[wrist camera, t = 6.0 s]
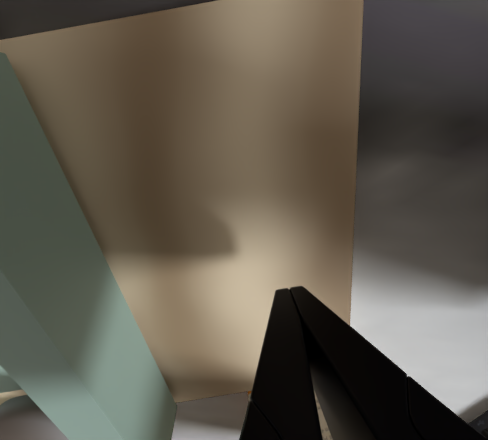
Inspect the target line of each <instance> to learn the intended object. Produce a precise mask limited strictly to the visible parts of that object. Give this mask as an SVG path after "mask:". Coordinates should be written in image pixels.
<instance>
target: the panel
mask: <svg viewBox="0 0 488 440" xmlns="http://www.w3.org/2000/svg"><path fill="white" fill-rule="evenodd" d="M22 389H23V390H24V392H25V393H26V394H27V395H28V396H29V397H30V398H31V399H32V400H33V401H34V402H35V403H36V405H37V406H38V407H39V408H40V409H41V410H42V411H43V412H44V413H45V414H46V415H47V417H48V418H49V419H50V420H51V421H52V422H53V423H54V424H55V425H56V426H57V427H58V428H59V430H60V431H61V432H62V433H63V434H64V435H65V436H66V437H67V438H68V439H69V440H171V438H172V432H173V427H174V421H175V415H176V410H177V405H176V403H175V401H174V399H173V397H172V395H171V393H170V391H169V389H168V387H167V385H166V382H165V380H164V378H163V376H162V374H161V372H160V370H159V368H158V366H157V364H156V362H155V360H154V358H153V356H152V354H151V352H150V350H149V348H148V345H147V343H146V341H145V339H144V337H143V335H142V333H141V331H140V329H139V327H138V325H137V323H136V321H135V319H134V317H133V315H132V313H131V311H130V308H129V306H128V304H127V302H126V300H125V298H124V296H123V294H122V292H121V290H120V288H119V286H118V284H117V282H116V280H115V278H114V276H113V274H112V271H111V269H110V267H109V265H108V263H107V261H106V259H105V257H104V255H103V253H102V251H101V249H100V247H99V245H98V243H97V241H96V239H95V237H94V234H93V232H92V230H91V228H90V226H89V224H88V222H87V220H86V218H85V216H84V214H83V212H82V210H81V208H80V206H79V204H78V202H77V200H76V197H75V195H74V193H73V191H72V189H71V187H70V185H69V183H68V181H67V179H66V177H65V175H64V173H63V171H62V169H61V167H60V165H59V163H58V160H57V158H56V156H55V154H54V152H53V150H52V148H51V146H50V144H49V142H48V140H47V138H46V136H45V134H44V132H43V130H42V128H41V126H40V123H39V121H38V119H37V117H36V115H35V113H34V111H33V109H32V107H31V105H30V103H29V101H28V99H27V97H26V95H25V93H24V91H23V88H22V86H21V84H20V82H19V80H18V78H17V76H16V74H15V72H14V70H13V68H12V66H11V64H10V62H9V60H8V58H7V56H6V54H5V53H2V52H0V393H4V392H10V391H16V390H22Z"/></svg>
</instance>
